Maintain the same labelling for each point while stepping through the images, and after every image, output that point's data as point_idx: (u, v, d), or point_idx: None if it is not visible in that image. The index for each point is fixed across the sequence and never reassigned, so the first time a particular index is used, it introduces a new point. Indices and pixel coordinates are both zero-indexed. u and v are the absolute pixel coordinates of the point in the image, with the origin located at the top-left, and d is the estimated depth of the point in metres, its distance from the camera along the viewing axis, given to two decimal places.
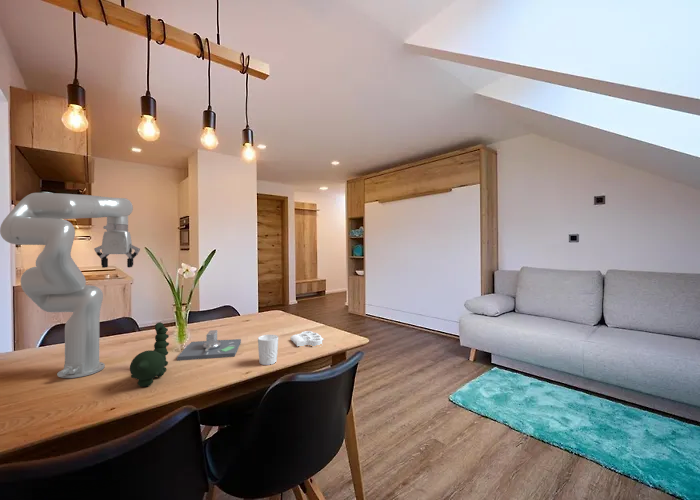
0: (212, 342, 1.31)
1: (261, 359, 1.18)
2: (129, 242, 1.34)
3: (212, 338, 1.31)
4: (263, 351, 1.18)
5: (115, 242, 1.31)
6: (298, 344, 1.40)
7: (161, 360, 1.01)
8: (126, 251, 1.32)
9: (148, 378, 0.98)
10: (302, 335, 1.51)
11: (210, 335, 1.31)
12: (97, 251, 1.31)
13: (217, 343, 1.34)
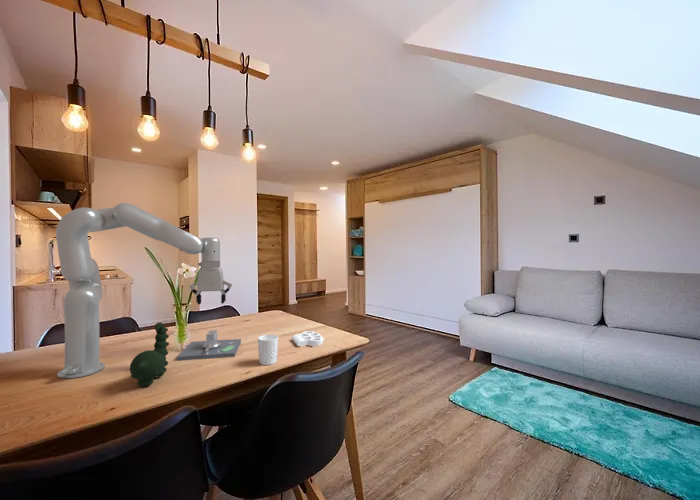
0: (212, 342, 1.31)
1: (261, 359, 1.18)
2: (222, 278, 1.34)
3: (212, 338, 1.31)
4: (263, 351, 1.18)
5: (210, 279, 1.32)
6: (298, 344, 1.40)
7: (161, 360, 1.01)
8: (221, 288, 1.33)
9: (148, 378, 0.98)
10: (303, 335, 1.52)
11: (210, 335, 1.31)
12: (192, 288, 1.32)
13: (217, 343, 1.34)
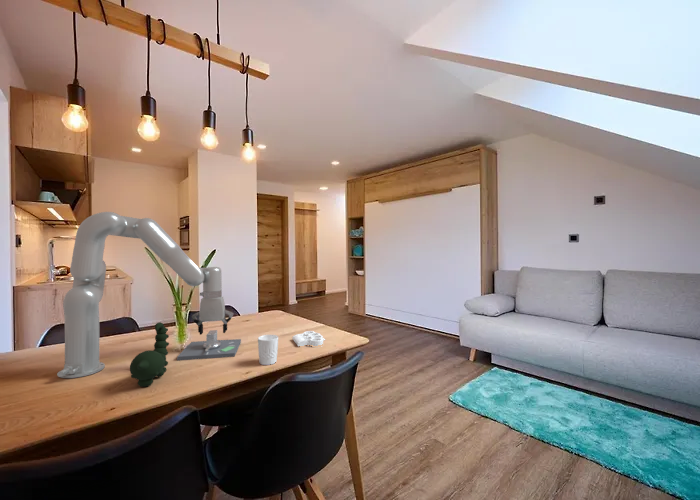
0: (212, 342, 1.31)
1: (261, 359, 1.18)
2: (224, 308, 1.35)
3: (212, 338, 1.31)
4: (263, 351, 1.18)
5: (212, 309, 1.32)
6: (299, 344, 1.40)
7: (161, 360, 1.01)
8: (222, 317, 1.33)
9: (148, 378, 0.98)
10: (304, 335, 1.52)
11: (210, 335, 1.31)
12: (194, 318, 1.32)
13: (217, 343, 1.34)
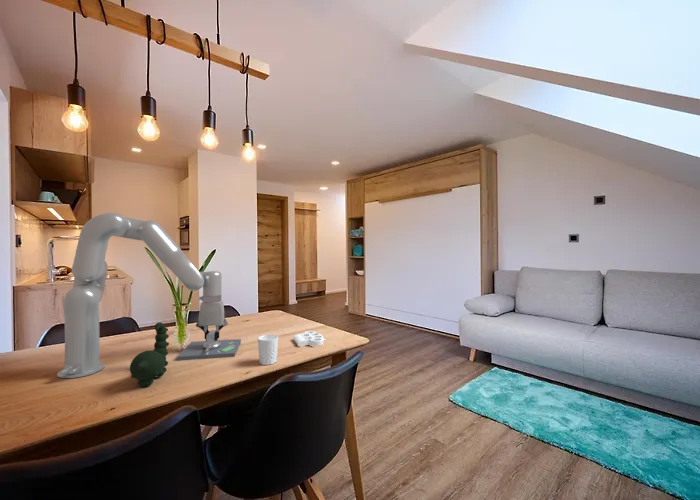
0: (212, 342, 1.31)
1: (261, 359, 1.18)
2: (223, 312, 1.34)
3: (212, 338, 1.31)
4: (263, 351, 1.18)
5: (211, 314, 1.32)
6: (299, 344, 1.40)
7: (161, 360, 1.01)
8: (222, 322, 1.33)
9: (148, 378, 0.98)
10: (305, 335, 1.52)
11: (210, 335, 1.31)
12: (199, 326, 1.32)
13: (217, 343, 1.34)
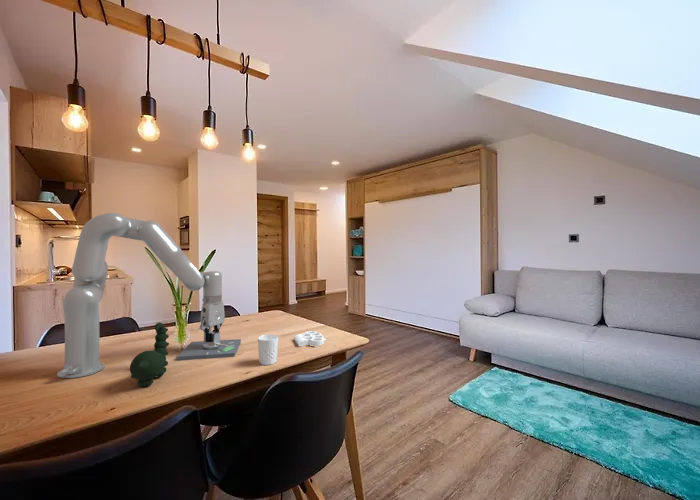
0: (219, 340, 1.33)
1: (261, 359, 1.18)
2: None
3: (219, 336, 1.33)
4: (263, 351, 1.18)
5: (218, 313, 1.34)
6: (299, 344, 1.40)
7: (161, 360, 1.01)
8: (224, 319, 1.38)
9: (148, 378, 0.98)
10: (305, 335, 1.52)
11: (217, 334, 1.33)
12: (204, 328, 1.29)
13: None
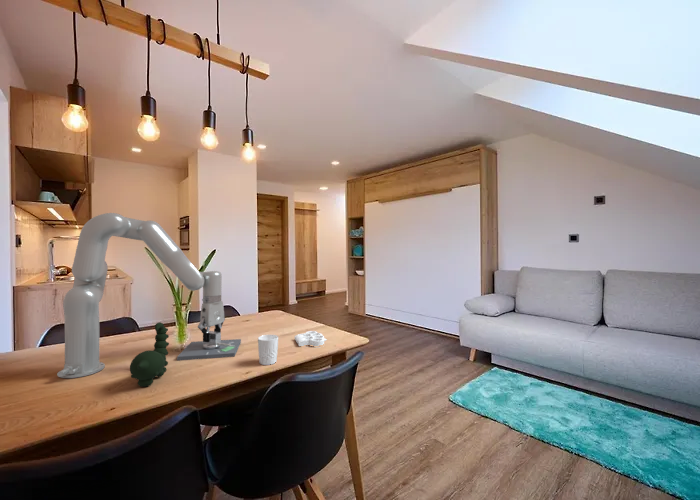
0: (219, 340, 1.34)
1: (261, 359, 1.18)
2: None
3: (219, 336, 1.34)
4: (263, 351, 1.18)
5: (218, 313, 1.34)
6: (300, 344, 1.40)
7: (161, 360, 1.01)
8: (223, 319, 1.38)
9: (148, 378, 0.98)
10: (306, 335, 1.52)
11: (218, 333, 1.33)
12: (202, 327, 1.28)
13: None
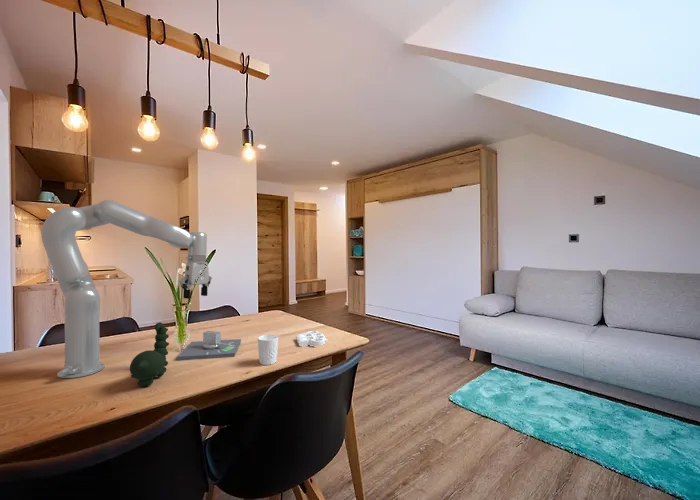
0: (219, 340, 1.34)
1: (261, 359, 1.18)
2: None
3: (219, 336, 1.34)
4: (263, 351, 1.18)
5: (202, 273, 1.36)
6: (300, 344, 1.40)
7: (161, 360, 1.01)
8: (208, 280, 1.40)
9: (148, 378, 0.98)
10: (307, 335, 1.52)
11: (218, 333, 1.33)
12: (183, 283, 1.30)
13: None
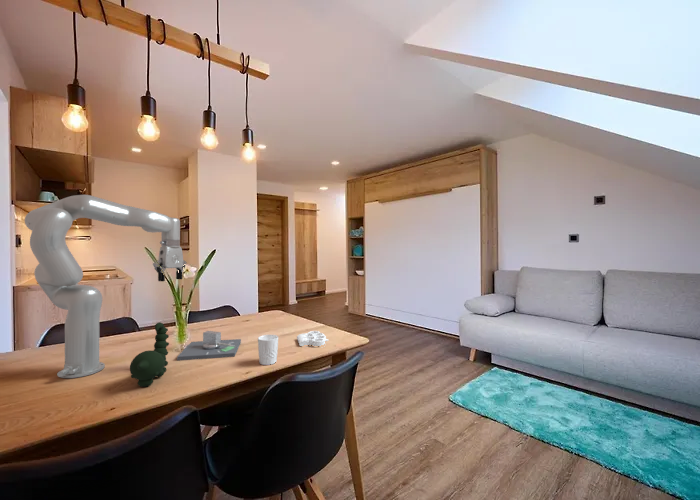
0: (219, 340, 1.34)
1: (261, 359, 1.18)
2: None
3: (219, 336, 1.34)
4: (263, 351, 1.18)
5: (176, 257, 1.42)
6: (300, 343, 1.40)
7: (161, 360, 1.01)
8: (182, 264, 1.46)
9: (148, 378, 0.98)
10: (308, 335, 1.52)
11: (218, 333, 1.33)
12: (157, 266, 1.35)
13: None
